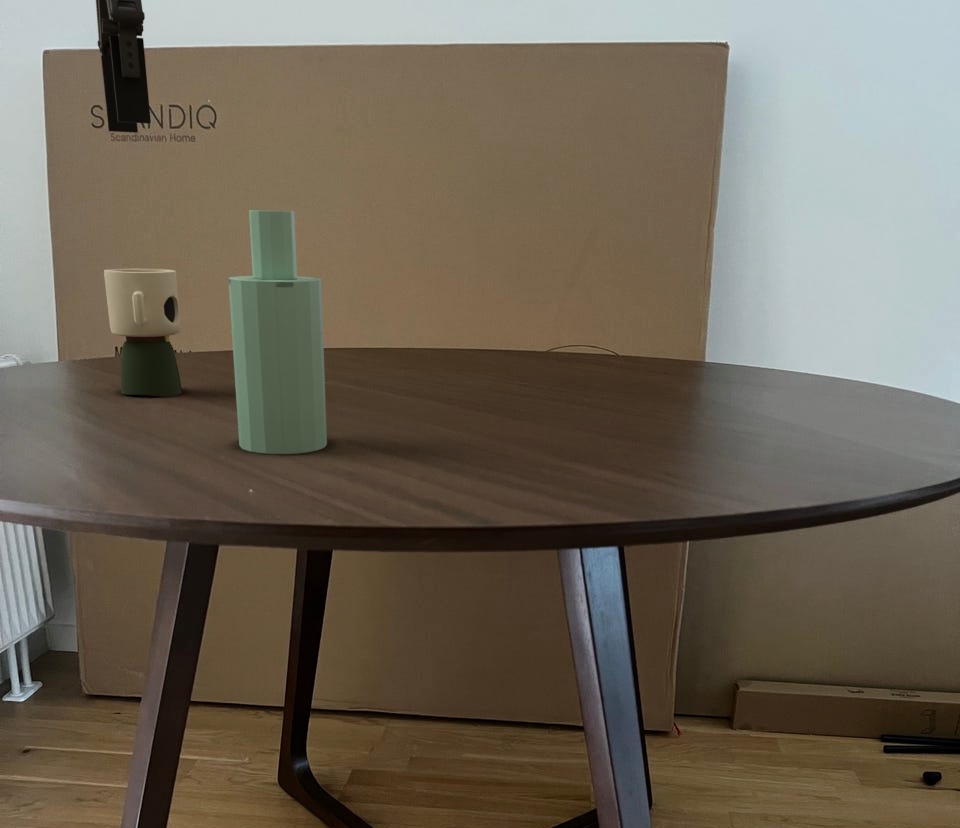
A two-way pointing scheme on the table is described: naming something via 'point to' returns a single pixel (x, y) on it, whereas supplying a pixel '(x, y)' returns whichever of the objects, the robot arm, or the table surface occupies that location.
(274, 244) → the bottle
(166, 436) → the table surface
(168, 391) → the character mug
